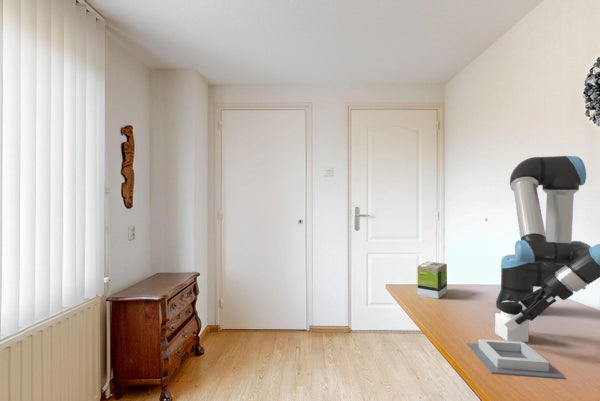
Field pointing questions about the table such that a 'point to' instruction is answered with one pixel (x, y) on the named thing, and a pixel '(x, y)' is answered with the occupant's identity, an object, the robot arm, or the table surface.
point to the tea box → (432, 279)
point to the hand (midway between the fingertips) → (507, 321)
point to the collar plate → (513, 359)
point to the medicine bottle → (507, 313)
